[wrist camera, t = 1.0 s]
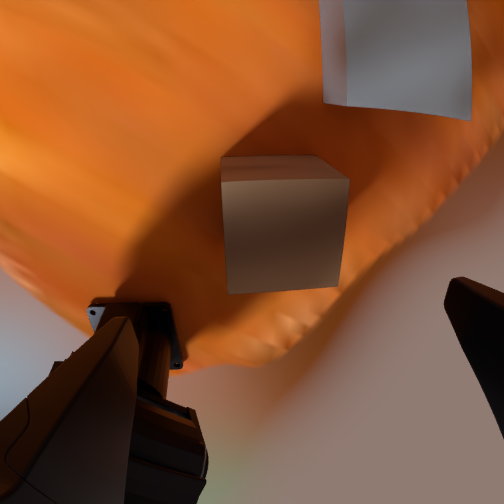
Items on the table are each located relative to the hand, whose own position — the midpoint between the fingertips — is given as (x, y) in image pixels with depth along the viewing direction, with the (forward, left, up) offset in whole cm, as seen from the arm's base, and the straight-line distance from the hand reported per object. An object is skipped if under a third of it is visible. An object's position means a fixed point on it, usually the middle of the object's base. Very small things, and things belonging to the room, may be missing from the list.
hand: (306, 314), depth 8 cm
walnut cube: (-1, -1, -12) cm, 12 cm away
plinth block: (+9, -8, -12) cm, 17 cm away
